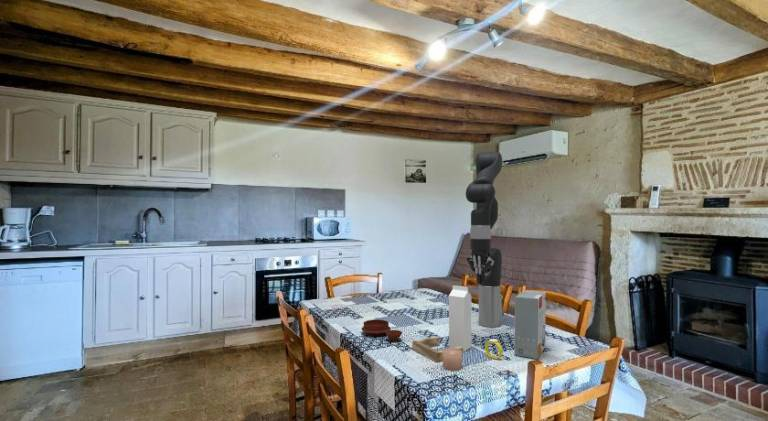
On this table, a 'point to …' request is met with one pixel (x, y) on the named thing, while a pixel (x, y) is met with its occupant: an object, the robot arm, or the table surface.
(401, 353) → the table surface
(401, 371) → the table surface
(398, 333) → the pottery
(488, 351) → the watch
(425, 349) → the display frame
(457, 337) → the milk
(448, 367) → the peach rounded capsule
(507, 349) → the table surface
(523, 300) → the hard drive box
